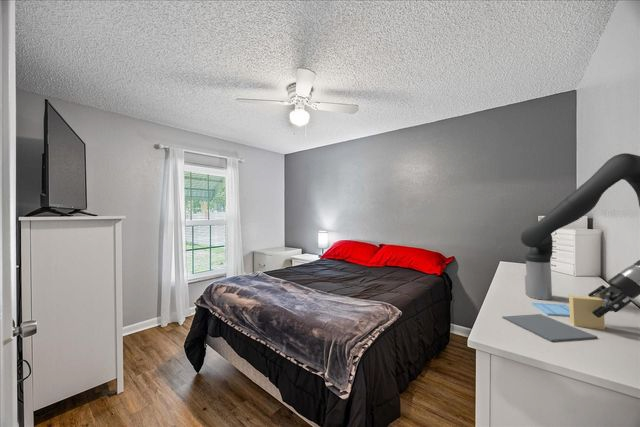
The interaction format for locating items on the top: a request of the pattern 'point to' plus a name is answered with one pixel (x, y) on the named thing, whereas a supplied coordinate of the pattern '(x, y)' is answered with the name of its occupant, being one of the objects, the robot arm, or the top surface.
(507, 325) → the top surface
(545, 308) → the light blue flat slab
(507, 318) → the mat
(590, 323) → the yellow block
